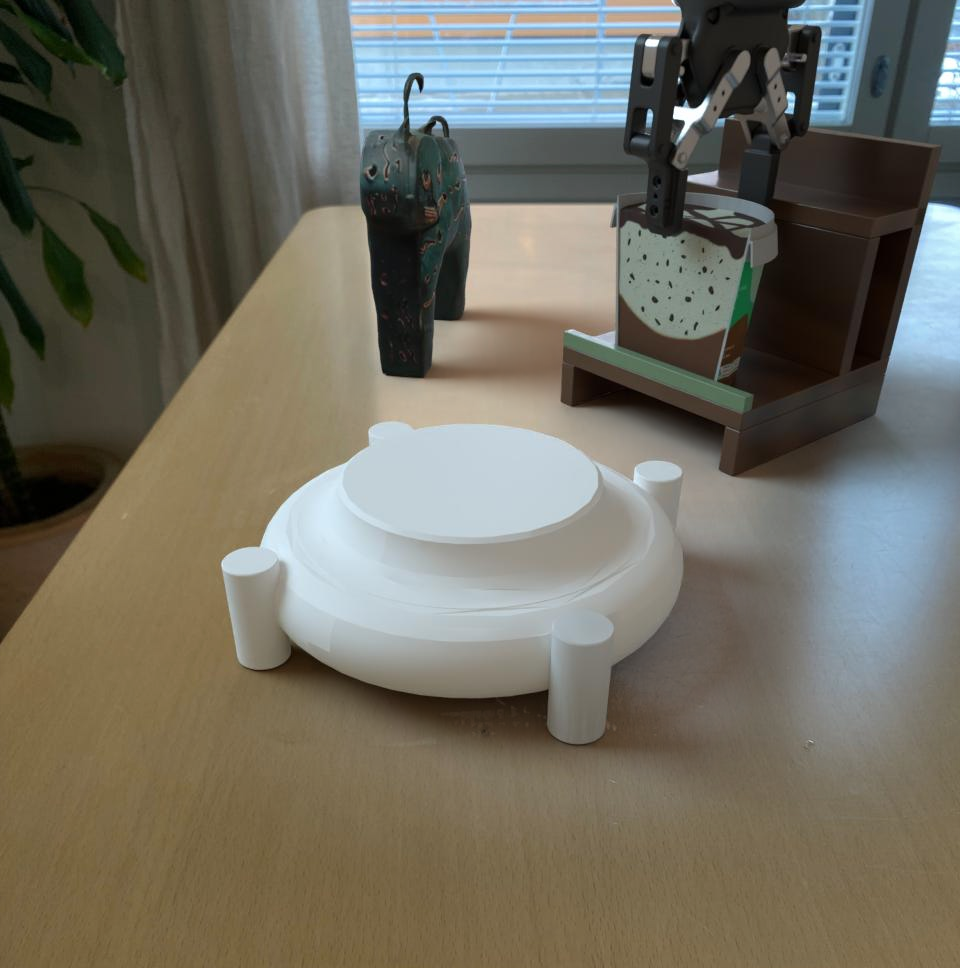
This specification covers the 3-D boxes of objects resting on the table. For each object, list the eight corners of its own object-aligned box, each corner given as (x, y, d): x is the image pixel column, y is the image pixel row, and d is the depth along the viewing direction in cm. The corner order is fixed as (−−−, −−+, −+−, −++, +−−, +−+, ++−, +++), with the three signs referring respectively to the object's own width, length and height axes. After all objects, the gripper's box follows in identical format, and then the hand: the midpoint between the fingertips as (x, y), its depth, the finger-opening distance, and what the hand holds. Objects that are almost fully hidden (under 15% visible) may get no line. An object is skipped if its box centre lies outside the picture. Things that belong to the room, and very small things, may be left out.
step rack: (703, 354, 80) (735, 116, 70) (875, 414, 70) (943, 145, 60) (560, 401, 72) (573, 138, 62) (732, 476, 62) (782, 177, 52)
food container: (796, 378, 64) (827, 215, 58) (732, 399, 61) (758, 230, 55) (663, 329, 72) (679, 182, 66) (600, 345, 69) (612, 193, 63)
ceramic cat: (432, 387, 74) (423, 86, 62) (350, 381, 75) (326, 83, 64) (483, 309, 90) (484, 57, 78) (415, 305, 91) (406, 56, 79)
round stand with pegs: (315, 833, 37) (295, 684, 33) (186, 545, 55) (162, 424, 50) (814, 670, 45) (848, 535, 41) (562, 466, 63) (567, 357, 59)
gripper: (718, -104, 46) (678, 254, 55) (888, -98, 53) (827, 217, 63) (605, -99, 51) (586, 230, 60) (775, -95, 58) (734, 198, 68)
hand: (709, 223), depth 61 cm, fingers open, 8 cm apart
